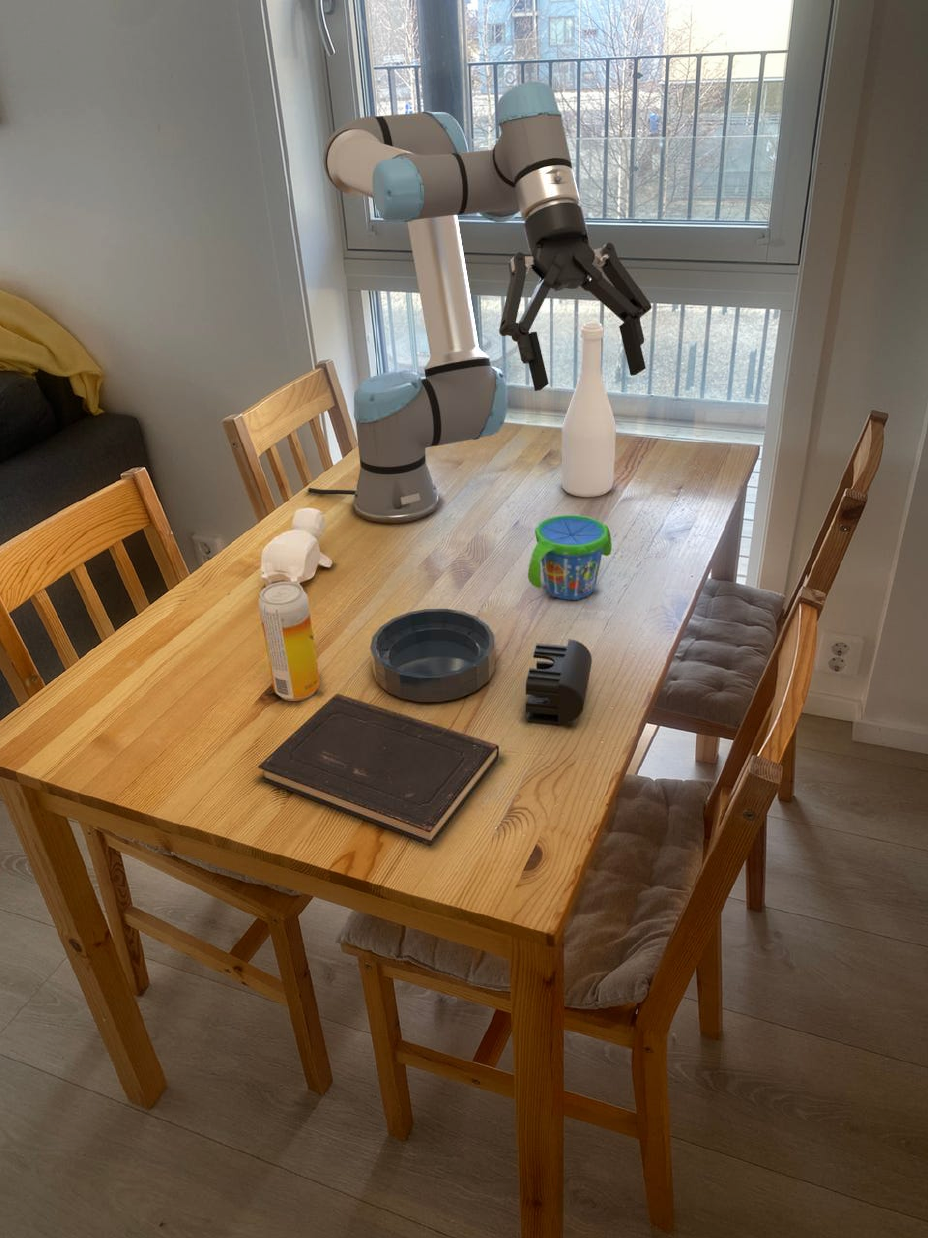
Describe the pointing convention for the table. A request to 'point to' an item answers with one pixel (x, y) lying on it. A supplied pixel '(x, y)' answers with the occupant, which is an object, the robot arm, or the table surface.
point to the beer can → (289, 640)
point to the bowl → (433, 655)
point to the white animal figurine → (295, 550)
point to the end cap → (558, 683)
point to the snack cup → (569, 555)
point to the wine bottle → (589, 426)
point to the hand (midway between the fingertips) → (590, 379)
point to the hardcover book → (381, 766)
